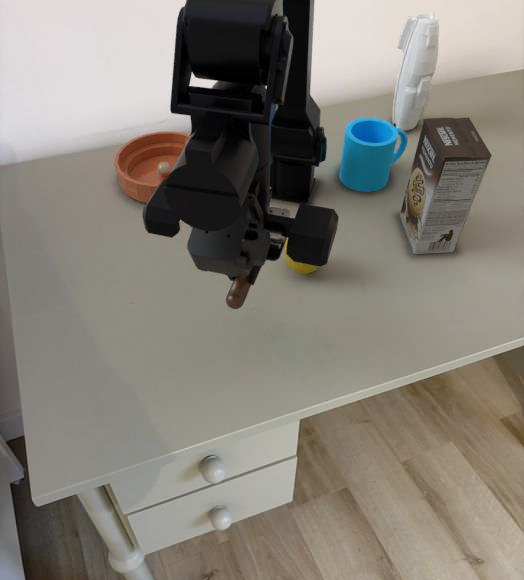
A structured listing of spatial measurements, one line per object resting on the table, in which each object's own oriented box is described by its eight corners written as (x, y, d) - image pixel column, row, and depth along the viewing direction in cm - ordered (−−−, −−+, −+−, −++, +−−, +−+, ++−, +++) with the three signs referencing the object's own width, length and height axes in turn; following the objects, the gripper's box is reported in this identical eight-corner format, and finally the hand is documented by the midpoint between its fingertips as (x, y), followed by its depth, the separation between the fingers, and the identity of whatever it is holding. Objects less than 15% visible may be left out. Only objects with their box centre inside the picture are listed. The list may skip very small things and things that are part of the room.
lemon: (326, 262, 76) (332, 218, 70) (316, 289, 73) (321, 245, 67) (290, 254, 77) (292, 209, 71) (278, 279, 74) (279, 235, 68)
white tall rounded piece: (377, 119, 100) (399, 138, 96) (396, 12, 86) (423, 30, 82) (406, 111, 102) (429, 130, 97) (430, 6, 87) (457, 23, 83)
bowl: (223, 160, 91) (222, 139, 88) (192, 214, 83) (190, 193, 79) (142, 146, 94) (138, 125, 91) (104, 197, 85) (98, 176, 82)
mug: (358, 197, 85) (366, 151, 79) (329, 171, 90) (335, 126, 83) (416, 176, 89) (428, 130, 82) (386, 151, 93) (395, 106, 87)
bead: (174, 172, 88) (173, 159, 86) (169, 180, 87) (167, 168, 85) (161, 170, 89) (159, 157, 87) (156, 178, 87) (153, 165, 85)
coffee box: (397, 215, 83) (422, 116, 70) (437, 213, 83) (470, 114, 70) (412, 255, 77) (442, 156, 64) (455, 253, 77) (494, 154, 65)
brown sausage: (245, 261, 62) (244, 248, 61) (261, 264, 62) (261, 251, 60) (224, 310, 58) (222, 298, 56) (241, 314, 57) (240, 302, 56)
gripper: (100, 193, 44) (136, 316, 56) (323, 234, 41) (308, 354, 53) (153, 122, 50) (175, 246, 62) (348, 153, 47) (330, 277, 59)
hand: (243, 280), depth 59 cm, fingers closed on brown sausage, 2 cm apart
